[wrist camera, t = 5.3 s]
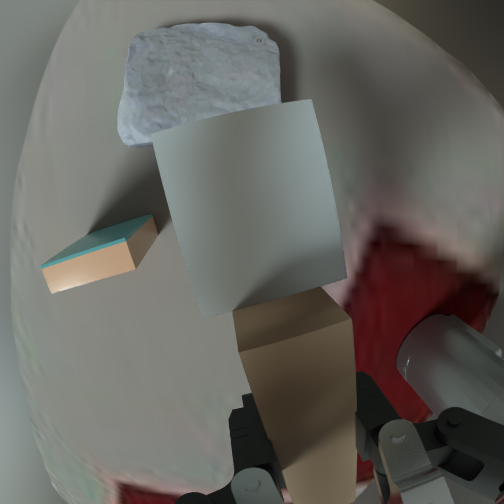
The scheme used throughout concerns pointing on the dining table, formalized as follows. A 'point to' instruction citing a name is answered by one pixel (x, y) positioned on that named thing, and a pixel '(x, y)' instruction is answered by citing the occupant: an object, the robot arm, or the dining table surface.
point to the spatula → (272, 278)
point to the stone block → (195, 77)
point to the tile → (101, 254)
